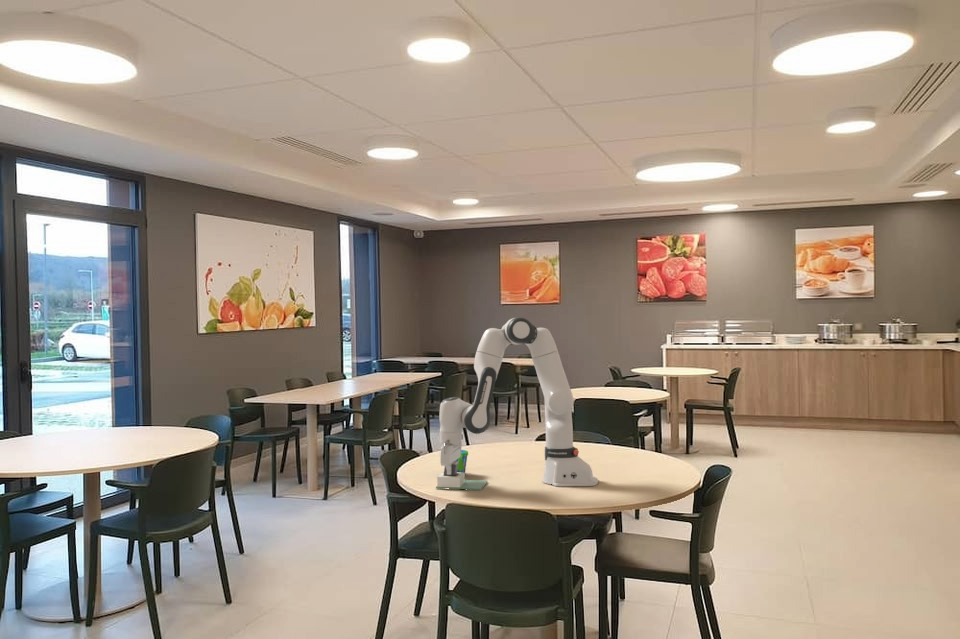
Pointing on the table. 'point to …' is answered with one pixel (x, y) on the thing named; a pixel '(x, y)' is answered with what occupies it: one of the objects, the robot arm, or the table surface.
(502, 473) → the table surface
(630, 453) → the table surface
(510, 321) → the robot arm
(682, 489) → the table surface
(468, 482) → the header board
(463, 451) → the snack cup
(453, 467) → the plug
